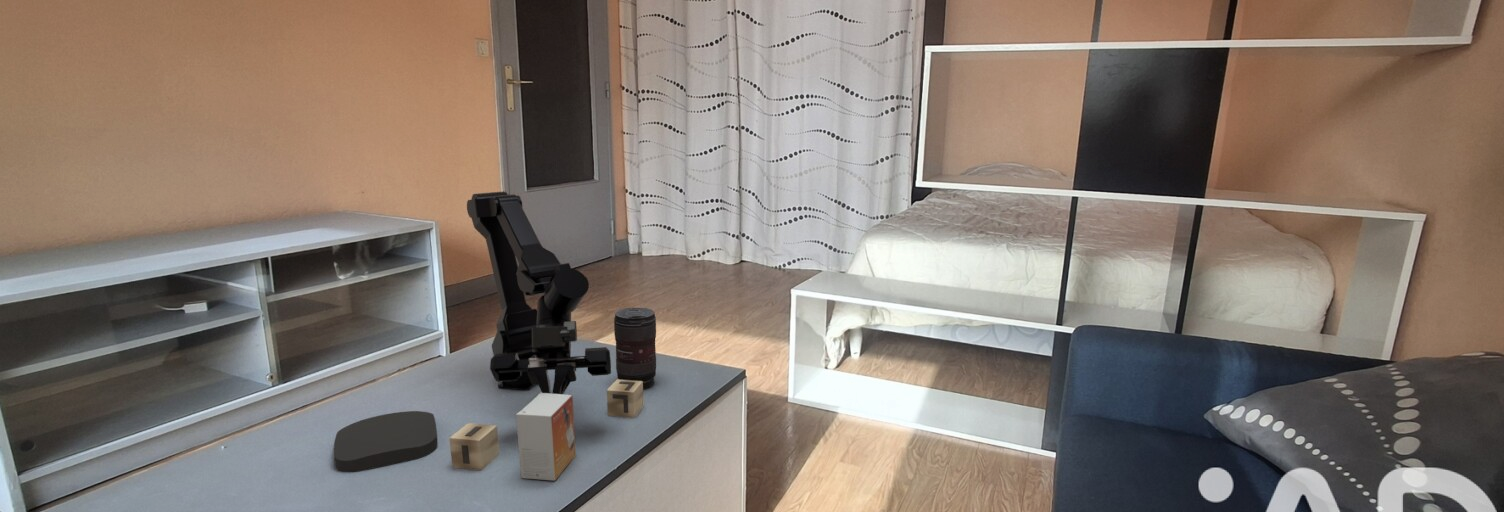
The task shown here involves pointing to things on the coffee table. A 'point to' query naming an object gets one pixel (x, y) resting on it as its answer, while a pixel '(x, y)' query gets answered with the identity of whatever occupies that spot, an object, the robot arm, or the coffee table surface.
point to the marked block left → (474, 446)
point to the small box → (546, 436)
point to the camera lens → (635, 345)
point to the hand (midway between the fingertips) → (551, 414)
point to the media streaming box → (385, 440)
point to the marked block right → (625, 398)
